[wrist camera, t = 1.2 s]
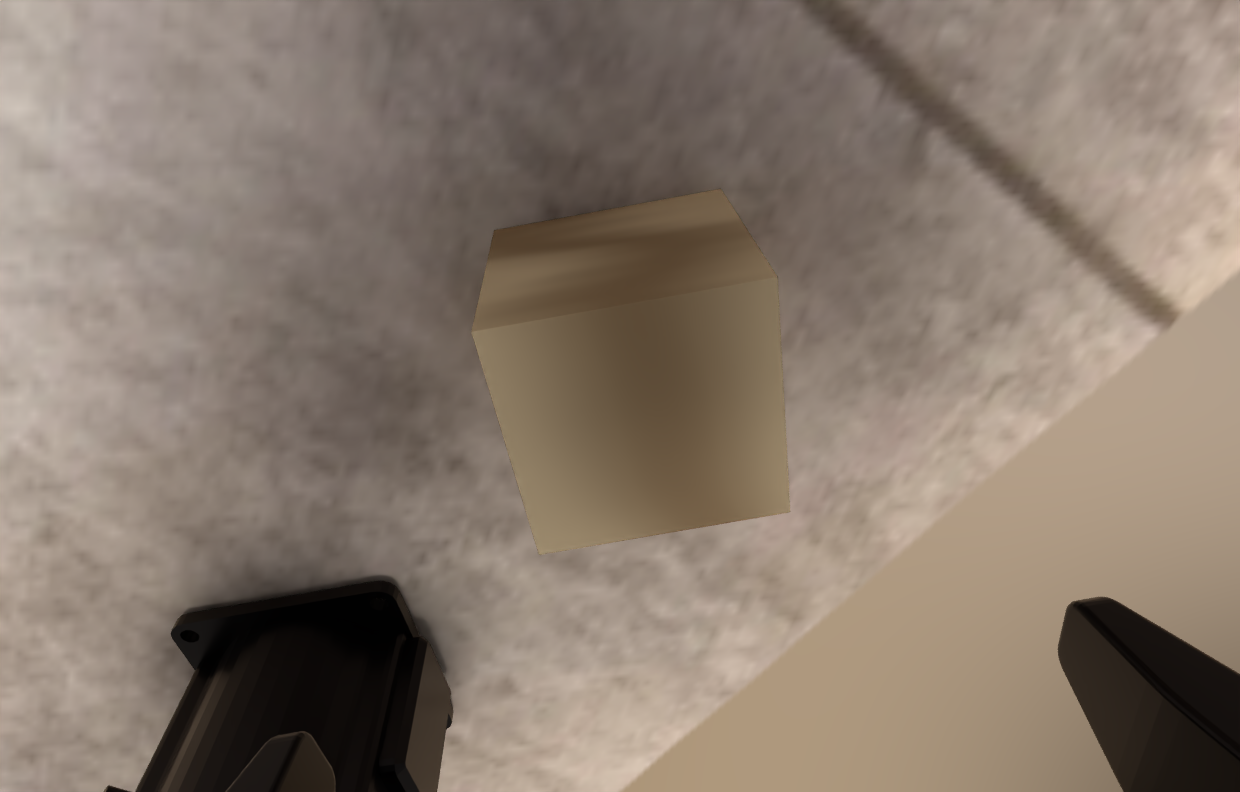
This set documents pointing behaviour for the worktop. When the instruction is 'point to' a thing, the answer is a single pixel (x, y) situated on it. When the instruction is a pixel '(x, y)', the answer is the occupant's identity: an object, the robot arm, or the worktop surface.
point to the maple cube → (636, 370)
